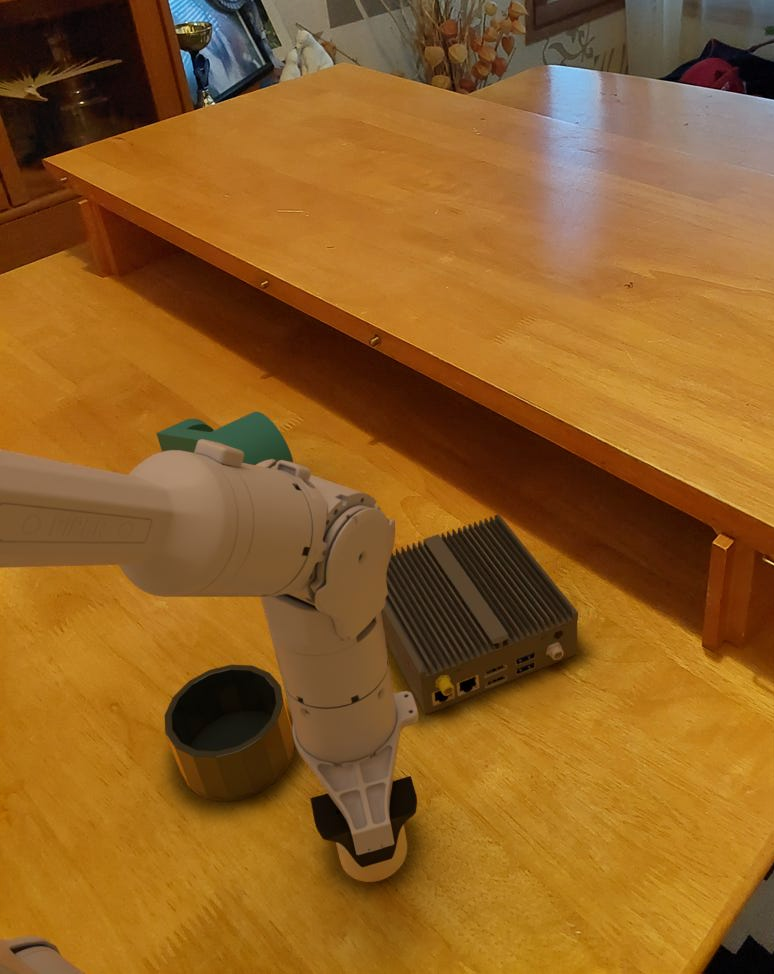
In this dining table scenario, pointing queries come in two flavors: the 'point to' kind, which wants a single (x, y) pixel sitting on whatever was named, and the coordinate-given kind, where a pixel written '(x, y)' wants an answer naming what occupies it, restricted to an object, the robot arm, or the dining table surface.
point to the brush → (375, 870)
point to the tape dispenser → (231, 437)
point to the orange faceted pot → (230, 732)
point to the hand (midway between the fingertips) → (366, 815)
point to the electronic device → (473, 614)
